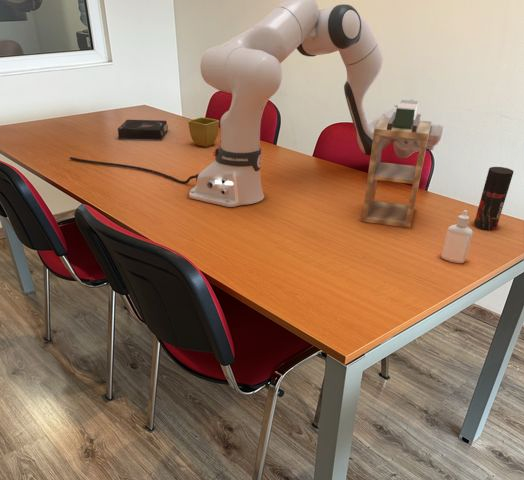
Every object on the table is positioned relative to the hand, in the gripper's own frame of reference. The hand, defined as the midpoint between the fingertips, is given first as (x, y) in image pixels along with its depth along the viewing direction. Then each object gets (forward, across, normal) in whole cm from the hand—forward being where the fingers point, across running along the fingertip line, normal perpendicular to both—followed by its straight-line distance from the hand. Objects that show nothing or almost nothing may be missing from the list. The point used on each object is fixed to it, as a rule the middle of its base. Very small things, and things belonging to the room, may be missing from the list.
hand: (408, 122), depth 151 cm
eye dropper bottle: (+30, +18, +41) cm, 54 cm away
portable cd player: (-37, -106, +2) cm, 112 cm away
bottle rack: (+10, 0, +29) cm, 31 cm away
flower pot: (-33, -77, +5) cm, 84 cm away
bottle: (+17, 0, +5) cm, 17 cm away
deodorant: (+8, +26, +28) cm, 39 cm away
